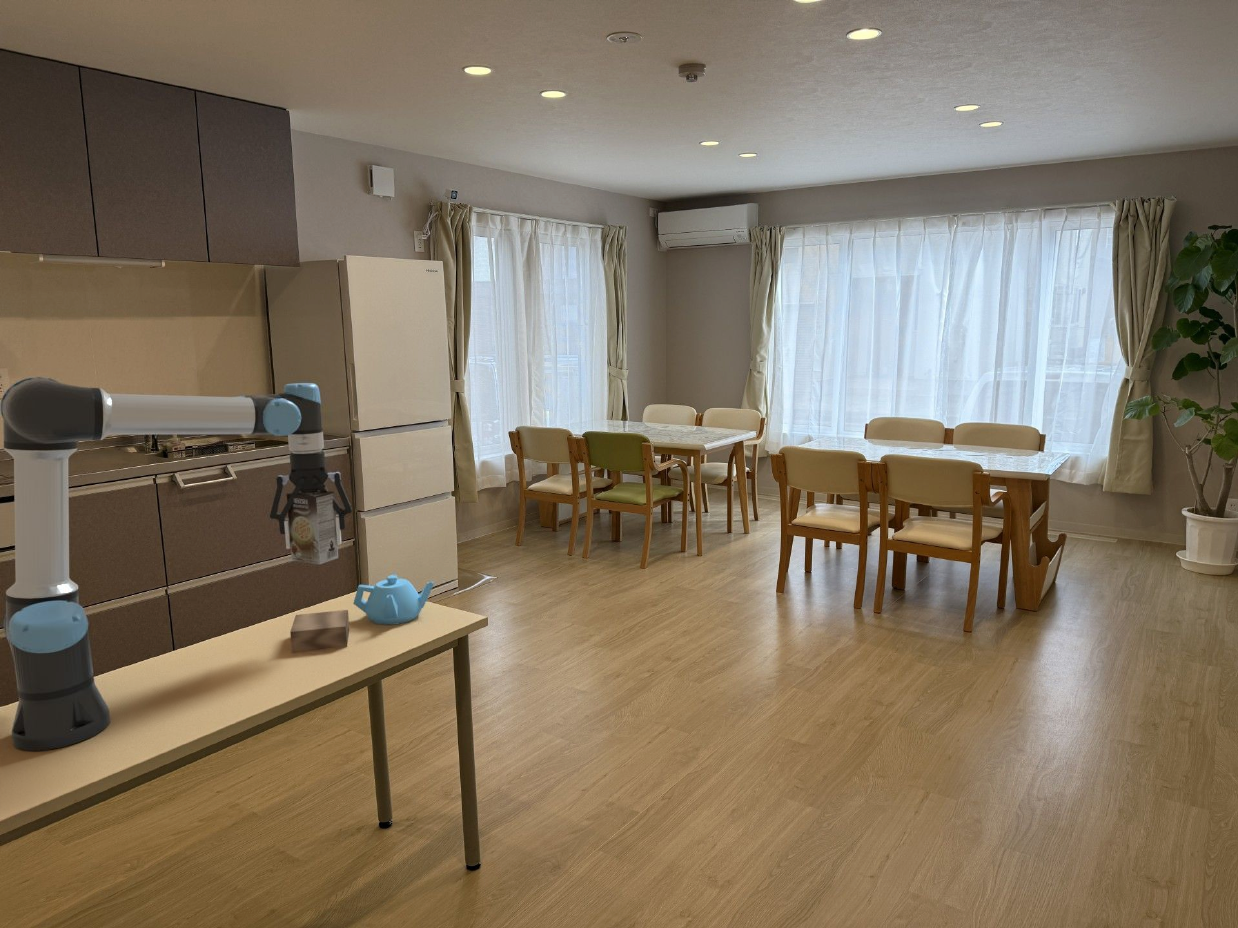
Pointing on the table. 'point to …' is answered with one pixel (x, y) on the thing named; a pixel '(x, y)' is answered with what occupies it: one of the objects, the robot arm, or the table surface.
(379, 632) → the table surface
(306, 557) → the coffee box
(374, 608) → the teapot
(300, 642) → the walnut base
